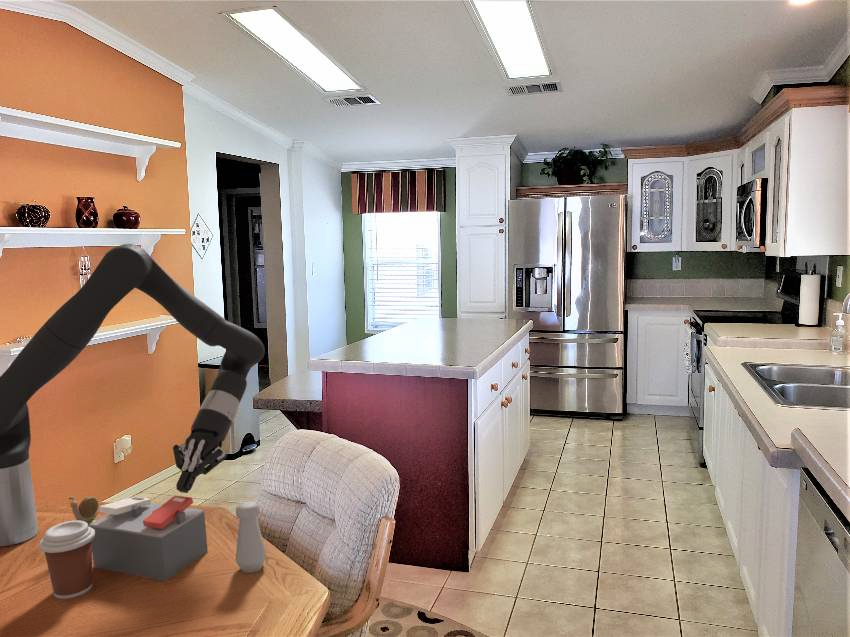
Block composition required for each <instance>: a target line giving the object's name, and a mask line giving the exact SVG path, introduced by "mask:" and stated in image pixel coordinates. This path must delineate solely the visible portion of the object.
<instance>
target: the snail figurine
mask: <svg viewBox="0 0 850 637" xmlns="http://www.w3.org/2000/svg"><path fill="white" fill-rule="evenodd" d="M68 499H69V501H70V504H69V505H70V507H71V510H72V513H73V515H74V518H75V520H76V521H77V520H79V521H85V522H86V523H88V527H89V524H91V523H93V522H95V521H97V520H98V519H96V517H97V516H98V514H99V502H98V499H97V498H96V497H94V496H87V497H85V498H83V499H82V500H81V501H80V503H78V501H77V500H74V499H75V496H69V497H68ZM71 500H72V501H71Z"/></svg>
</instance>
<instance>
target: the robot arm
mask: <svg viewBox="0 0 850 637" xmlns="http://www.w3.org/2000/svg"><path fill="white" fill-rule="evenodd" d="M85 281H86V282H85V283H84V284H83V285H82V286H81V288H80V289H79V290H78V291H77V292H76V293H75V294H73V296H72V297H70V298H69V299H68V300H67V301H66V302H64V304H62V305H61V306H60V307H59V308H58V309H57V310H56V311H55V312H54V313H53V314H52V315H51V316H50V317H49V318H48V319H47V320H46V322H44V324H43V325H42V326H41V327H40V328H39V329H38V330H37V332H35V334H34V335H33V337H31V338H30V340H29V341H28V342H27V344H25V346H24V347H23V348H22V350H21V351H20V352H19V353H18V354H17V355H16V357H15V359H13V361H12V362H11V364H10V365H9V366H8V368H7V369H6V370H5V371H4V372H3V373H2V374H1V375H0V547H8V546H13V545H17V544H21V543H24V542H26V541H29V540H30V539H31V538H32V539H33V537H36V536H37V535H38V532H39V528H38V520H37V519H38V518H37V517H38V516H37V508H36V501H35V494H34V486H33V485H34V484H33V475H32V469H31V460H30V459H31V458H30V452H29V451H30V448H31V447H30V446H31V441H32V435H31V423H30V422H31V421H30V412H29V407H28V402H29V401H30V399H32V397H33V396H34V395H35V394H36V393H37V392H39V390H40V389H42V388H43V387H44V386H45V385H46V384H48V383H49V382H50V381H51V380H53V379H54V378H55V377H57V376H58V375H59V374H60V373H62V371H64V370H65V369H66V368H67V367H68V366H69V365H70V364H71V363H72V362H73V361H75V359H76V358H77V357H78V356H79V355H80V354H81V352H82V351H84V349H85V348H86V347H87V345H88V344H89V343H90V341H91V340H92V339H93V338H94V336H95V335H96V333H97V332H98V330H99V329H100V327H101V326H102V323H103V322H104V321H105V319H106V317H108V314H109V313H110V312H111V310H113V309H114V308H115V307H116V305H118V303H119V302H121V301H122V300H123V299H124V298H125V297H126V296H127V295H129V293H130V292H132V291H133V290H134V289H137V290H139V291H141V292H142V293H144V294H145V295H147V296H149V297H150V298H152V299H153V300H154V301H155V302H156V303H158V304H159V305H160V306H162V308H164V309H165V310H166V312H168V313H169V314H170V316H171V317H172V318H173V319H174V320H176V322H177V323H178V324H180V325H181V326H182V327H183V328H184V329H185V330H186V331H188V333H190V334H192V335H193V336H194V337H196V338H197V339H198V340H200V341H201V342H202V343H204V344H205V345H207V346H209V347H216V346H217V347H222V348H223V349H224V350H225V352H224V354H223V356H222V358H221V362H220V365H219V368H218V371H217V375H216V377H215V379H214V380H213V383H212V385H211V387H210V390H209V392H208V393H207V394H206V397H204V399H203V401H202V403H201V406H200V408H199V410H198V412H197V415H196V417H195V418H194V420H193V422H192V424H191V427H190V434H189V436H188V437H187V438H186V439H185V441H184V443H182V444H181V445H178V444H174V445H173V446H172V450H173V456H174V461H175V466H176V468H177V469H179V470H180V471H181V474H180V476H179V477H178V480H177V482H176V490H177V491H178V492H180V493H184V494H187V493H189V491H191V490H192V488H193V487H194V484H195V481H196V479H197V478H198V477H199V476H200V475H202V474H203V475H204V476H205V475H207V474H208V473H210V472H211V471H213V469H215V468H216V467H217V466H218V465H219V464H220V463H222V462H223V461H225V459H226V458H227V457H228V454H227V453H226V452H225V451H224V450H223V449H222V447H223V442H225V440H226V438H227V436H228V433H229V431H230V430H231V427H232V424H233V422H234V420H235V418H236V415H237V413H238V409H239V406H240V403H241V401H242V398H243V397H244V394H245V391H246V389H247V386H248V382H247V377H248V374H249V372H250V370H251V368H252V367H255V365H257V364H259V362H260V361H262V359H263V358H264V356H265V353H266V350H265V345H264V343H263V341H262V340H261V339H260V338H259V337H258V336H257V335H255V334H254V333H253V332H251V331H249V330H248V329H245V328H244V327H241V326H239V325H237V324H235V323H232V322H230V321H228V320H226V319H225V317H223V316H222V315H220V313H218V312H216V311H215V310H214V309H212V308H211V307H210V306H209V305H208V304H206V303H204V302H203V301H201V300H200V299H199V298H198V297H196V296H195V295H194V294H192V293H191V292H190V291H188V290H187V289H186V288H184V287H183V286H182V285H181V284H180V283H178V282H177V281H176V280H175V279H174V278H172V277H171V276H170V275H169V273H168V272H166V271H165V270H164V269H163V268H162V267H161V266H160V265H159V264H158V263H157V262H156V261H155V259H153V257H152V256H151V255H150V254H149V253H148V252H147V251H146V249H144V248H143V247H142V246H139V245H137V244H133V243H126V244H125V243H124V244H119V245H117V246H115V247H112V248H111V249H109V250H108V251H107V252H106V253H105V254H104V256H103V257H102V259H100V261H99V263H98V265H97V266H96V267H95V269H94V271H93V272H92V273H91V275H90V276H89V277H88V279H87V280H85Z"/></svg>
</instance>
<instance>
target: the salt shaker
mask: <svg viewBox="0 0 850 637" xmlns="http://www.w3.org/2000/svg"><path fill="white" fill-rule="evenodd" d="M259 512H260V508H259V503H257V502H255V501H245V502H241V503H239V504H238V505H237V506H236V508H235V516H236V518H237V519H239V522H238V529H237V530H238V531H237V532H238V534H237V543H236V550H235V563H236V564H237V566H238V567H239V568H240V570H241V571H242V573H244V574H253V573H255V572H258V571H261V569H262V568H263V565H264V563H265V562H266V561H265V560H266V558H267V551H266V548H265V543H264V539H263V535H262V532H261V527H260V524H259V521H258V517H257V516H258V515H259Z"/></svg>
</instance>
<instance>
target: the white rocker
mask: <svg viewBox="0 0 850 637" xmlns="http://www.w3.org/2000/svg"><path fill="white" fill-rule="evenodd" d="M151 501H152V498H148V497H140V496H132V497H127V498H125V499H121V500H118V501H114V502H110V503H106V504H101V505H98V513H102V514H106V515H108V514H113V515H118V514H121V513H124V512H128V511H131V510H132V508H134V507H136V506H138V505H140V506H141V507H144V506H148V505H151V503H152V502H151Z"/></svg>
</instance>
